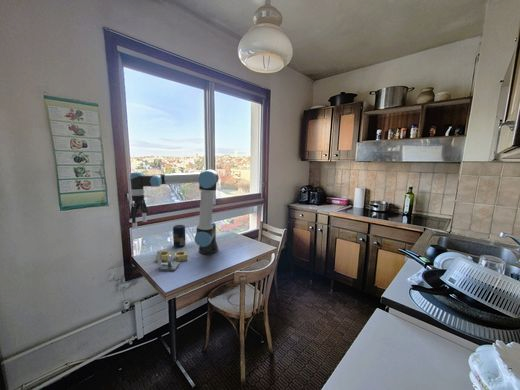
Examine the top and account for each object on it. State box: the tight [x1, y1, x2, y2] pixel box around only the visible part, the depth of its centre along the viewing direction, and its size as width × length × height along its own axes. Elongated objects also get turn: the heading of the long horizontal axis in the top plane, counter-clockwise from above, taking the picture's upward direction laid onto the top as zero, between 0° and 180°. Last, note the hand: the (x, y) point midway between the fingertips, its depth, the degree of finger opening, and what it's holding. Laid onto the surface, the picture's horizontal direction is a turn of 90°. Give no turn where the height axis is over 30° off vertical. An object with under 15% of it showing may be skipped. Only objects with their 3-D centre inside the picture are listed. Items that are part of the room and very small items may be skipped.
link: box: [155, 250, 173, 262], centre depth 160 cm, size 8×8×4 cm
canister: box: [172, 224, 186, 248], centre depth 184 cm, size 10×10×18 cm
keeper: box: [156, 249, 181, 272], centre depth 147 cm, size 12×10×12 cm
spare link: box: [173, 250, 188, 262], centre depth 161 cm, size 8×8×4 cm
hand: (140, 224), depth 158 cm, fingers open, 13 cm apart
